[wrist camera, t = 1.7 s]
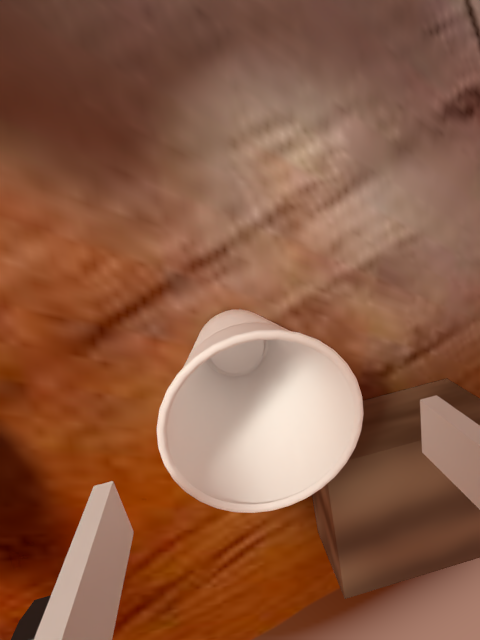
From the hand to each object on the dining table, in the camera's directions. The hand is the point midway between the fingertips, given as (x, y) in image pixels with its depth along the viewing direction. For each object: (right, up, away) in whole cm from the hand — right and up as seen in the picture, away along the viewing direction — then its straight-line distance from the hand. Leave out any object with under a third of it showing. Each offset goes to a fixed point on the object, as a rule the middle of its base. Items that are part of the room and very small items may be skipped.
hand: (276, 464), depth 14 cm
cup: (-2, +4, +12) cm, 13 cm away
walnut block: (+12, -7, +17) cm, 22 cm away
